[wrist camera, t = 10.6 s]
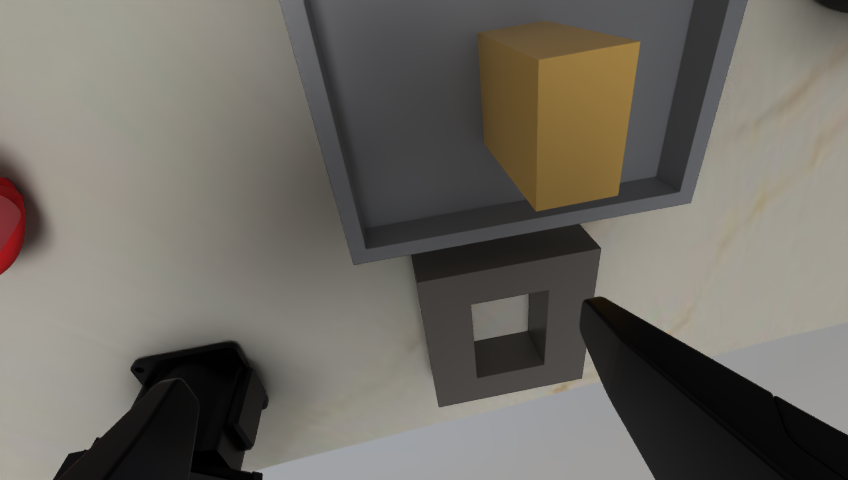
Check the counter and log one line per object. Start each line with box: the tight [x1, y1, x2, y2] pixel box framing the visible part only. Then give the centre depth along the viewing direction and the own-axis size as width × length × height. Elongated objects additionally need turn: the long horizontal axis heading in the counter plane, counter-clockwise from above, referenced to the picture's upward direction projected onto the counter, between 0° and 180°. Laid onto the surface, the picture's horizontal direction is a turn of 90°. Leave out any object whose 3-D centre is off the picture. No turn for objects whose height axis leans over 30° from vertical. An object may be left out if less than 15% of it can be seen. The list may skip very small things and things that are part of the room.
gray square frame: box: [411, 224, 601, 407], centre depth 25 cm, size 10×11×3 cm
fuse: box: [477, 21, 640, 212], centre depth 16 cm, size 3×5×7 cm, turn 9°
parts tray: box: [279, 0, 748, 265], centre depth 18 cm, size 18×14×2 cm
